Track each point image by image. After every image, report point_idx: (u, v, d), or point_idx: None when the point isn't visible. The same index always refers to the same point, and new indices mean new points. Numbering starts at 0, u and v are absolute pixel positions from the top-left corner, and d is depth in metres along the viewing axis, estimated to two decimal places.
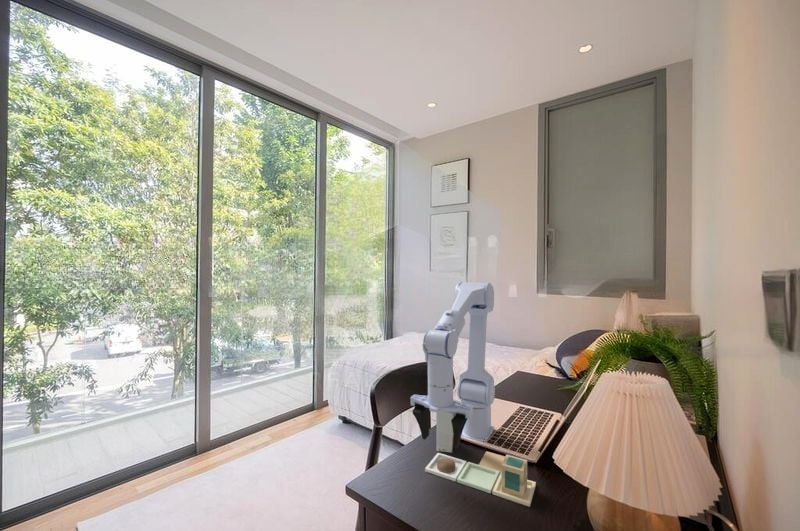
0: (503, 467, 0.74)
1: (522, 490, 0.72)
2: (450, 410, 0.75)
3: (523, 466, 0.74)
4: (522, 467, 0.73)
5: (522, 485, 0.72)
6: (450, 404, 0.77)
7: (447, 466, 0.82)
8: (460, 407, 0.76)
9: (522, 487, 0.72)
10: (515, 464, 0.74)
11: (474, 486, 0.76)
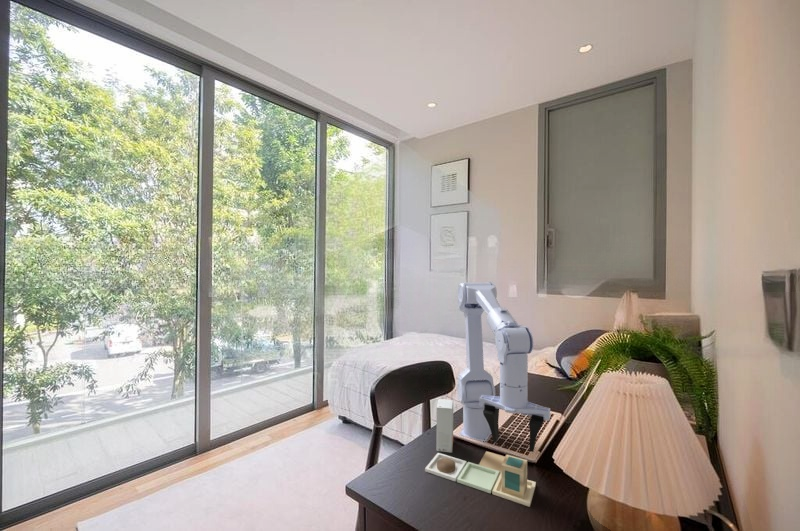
0: (503, 467, 0.74)
1: (522, 490, 0.72)
2: (527, 411, 0.72)
3: (523, 466, 0.74)
4: (522, 467, 0.73)
5: (522, 485, 0.72)
6: (526, 405, 0.73)
7: (447, 466, 0.82)
8: (537, 408, 0.72)
9: (522, 487, 0.72)
10: (515, 464, 0.74)
11: (474, 486, 0.76)
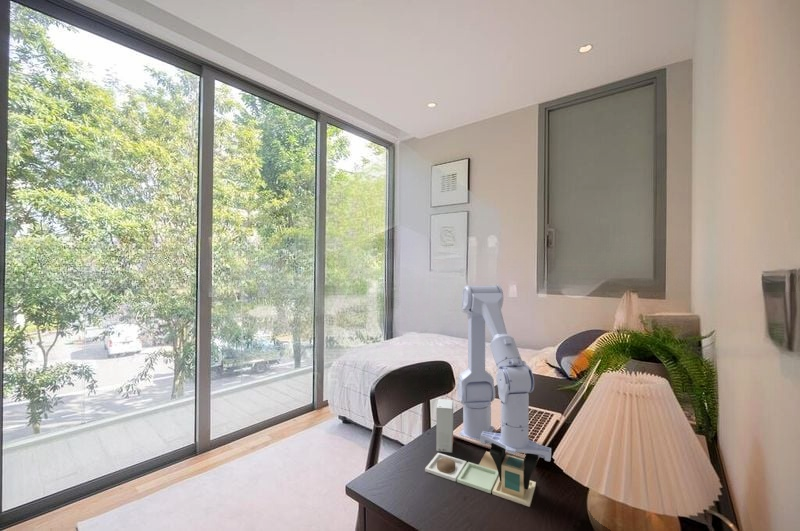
0: (503, 467, 0.74)
1: (522, 490, 0.72)
2: (528, 451, 0.72)
3: (523, 466, 0.74)
4: (522, 467, 0.73)
5: (522, 485, 0.72)
6: (527, 444, 0.73)
7: (447, 466, 0.82)
8: (538, 448, 0.73)
9: (522, 487, 0.72)
10: (515, 464, 0.74)
11: (474, 486, 0.76)
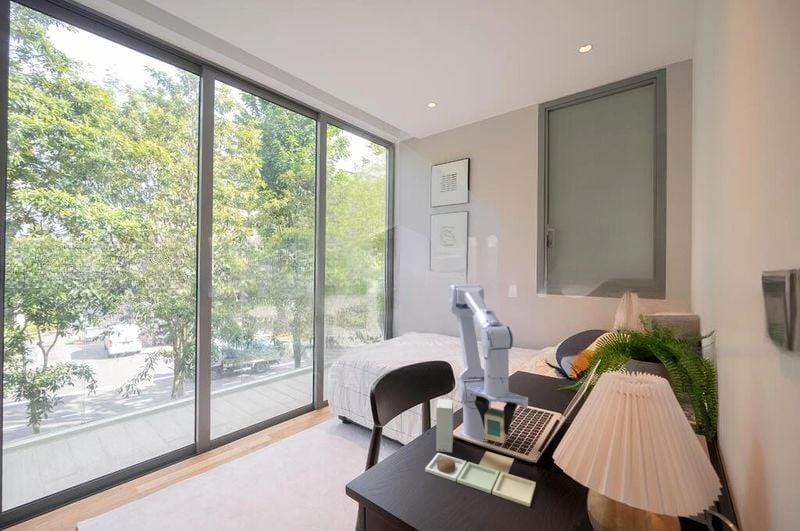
0: (486, 416, 0.84)
1: (502, 435, 0.82)
2: (507, 400, 0.82)
3: (503, 415, 0.83)
4: (502, 416, 0.83)
5: (502, 431, 0.82)
6: (506, 394, 0.83)
7: (447, 466, 0.82)
8: (516, 397, 0.82)
9: (502, 433, 0.82)
10: (496, 413, 0.84)
11: (474, 486, 0.76)
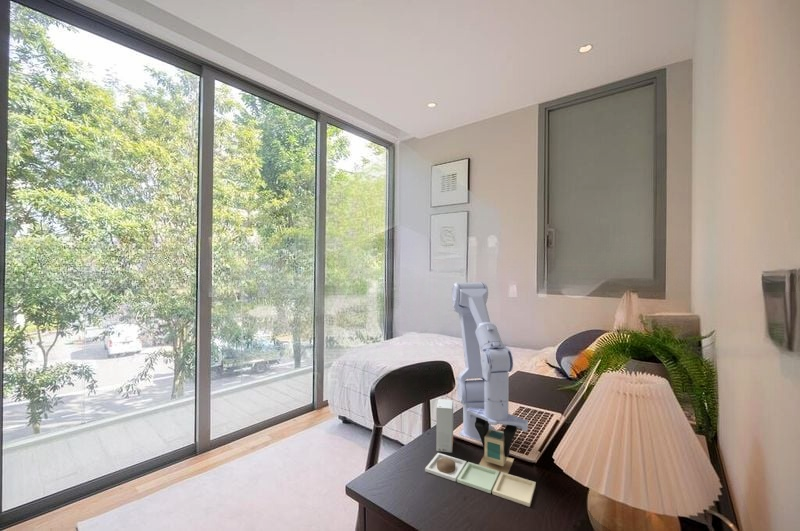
0: (486, 439, 0.84)
1: (502, 458, 0.82)
2: (507, 423, 0.82)
3: (503, 437, 0.84)
4: (502, 438, 0.83)
5: (502, 454, 0.82)
6: (506, 417, 0.83)
7: (447, 466, 0.82)
8: (516, 420, 0.82)
9: (502, 456, 0.82)
10: (496, 436, 0.84)
11: (474, 486, 0.76)
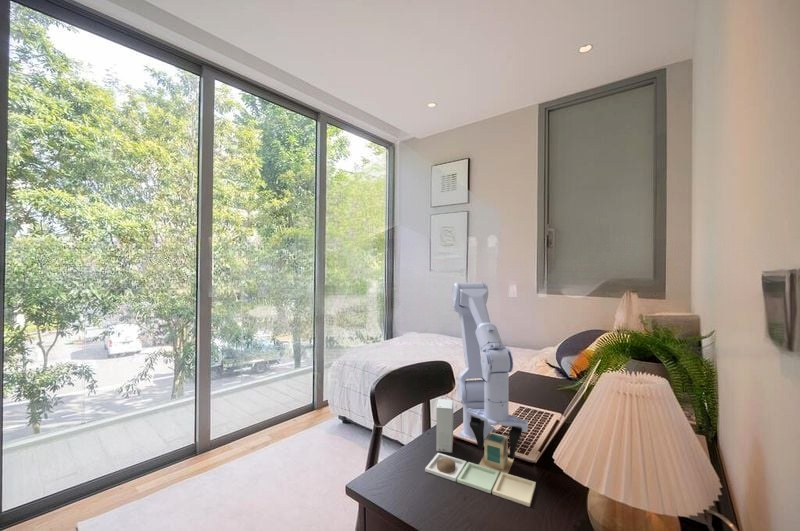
0: (486, 442, 0.84)
1: (502, 462, 0.82)
2: (507, 424, 0.82)
3: (503, 441, 0.84)
4: (502, 442, 0.83)
5: (502, 457, 0.82)
6: (506, 418, 0.83)
7: (447, 466, 0.82)
8: (516, 421, 0.82)
9: (502, 459, 0.82)
10: (496, 439, 0.84)
11: (474, 486, 0.76)
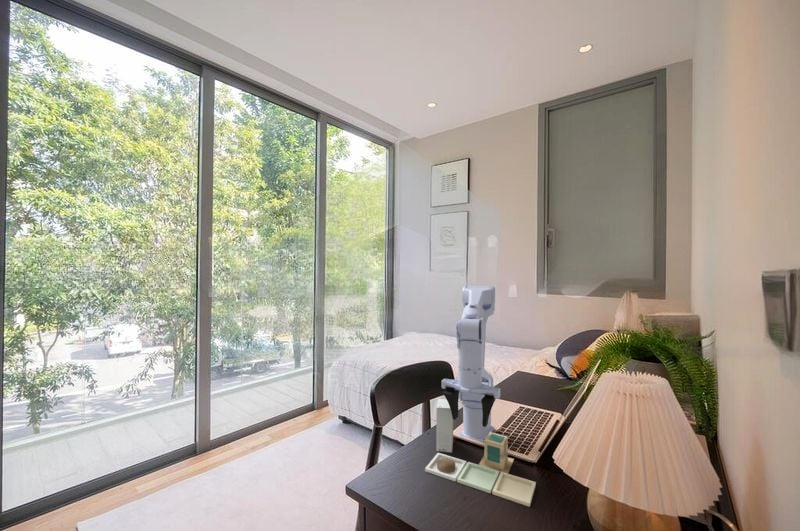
0: (486, 442, 0.84)
1: (502, 462, 0.82)
2: (480, 391, 0.82)
3: (503, 441, 0.84)
4: (502, 442, 0.83)
5: (502, 457, 0.82)
6: (479, 386, 0.84)
7: (447, 466, 0.82)
8: (489, 389, 0.83)
9: (502, 459, 0.82)
10: (496, 439, 0.84)
11: (474, 486, 0.76)
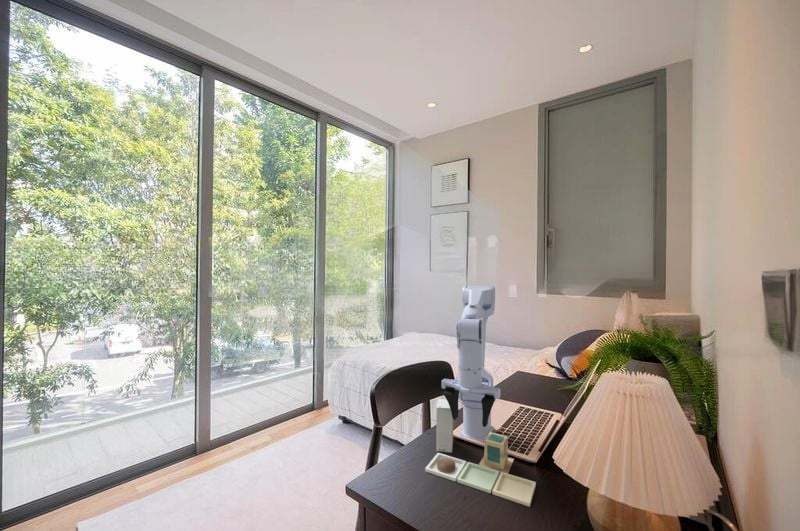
0: (486, 442, 0.84)
1: (502, 462, 0.82)
2: (480, 391, 0.82)
3: (503, 441, 0.84)
4: (502, 442, 0.83)
5: (502, 457, 0.82)
6: (479, 386, 0.84)
7: (447, 466, 0.82)
8: (489, 389, 0.83)
9: (502, 459, 0.82)
10: (496, 439, 0.84)
11: (474, 486, 0.76)
